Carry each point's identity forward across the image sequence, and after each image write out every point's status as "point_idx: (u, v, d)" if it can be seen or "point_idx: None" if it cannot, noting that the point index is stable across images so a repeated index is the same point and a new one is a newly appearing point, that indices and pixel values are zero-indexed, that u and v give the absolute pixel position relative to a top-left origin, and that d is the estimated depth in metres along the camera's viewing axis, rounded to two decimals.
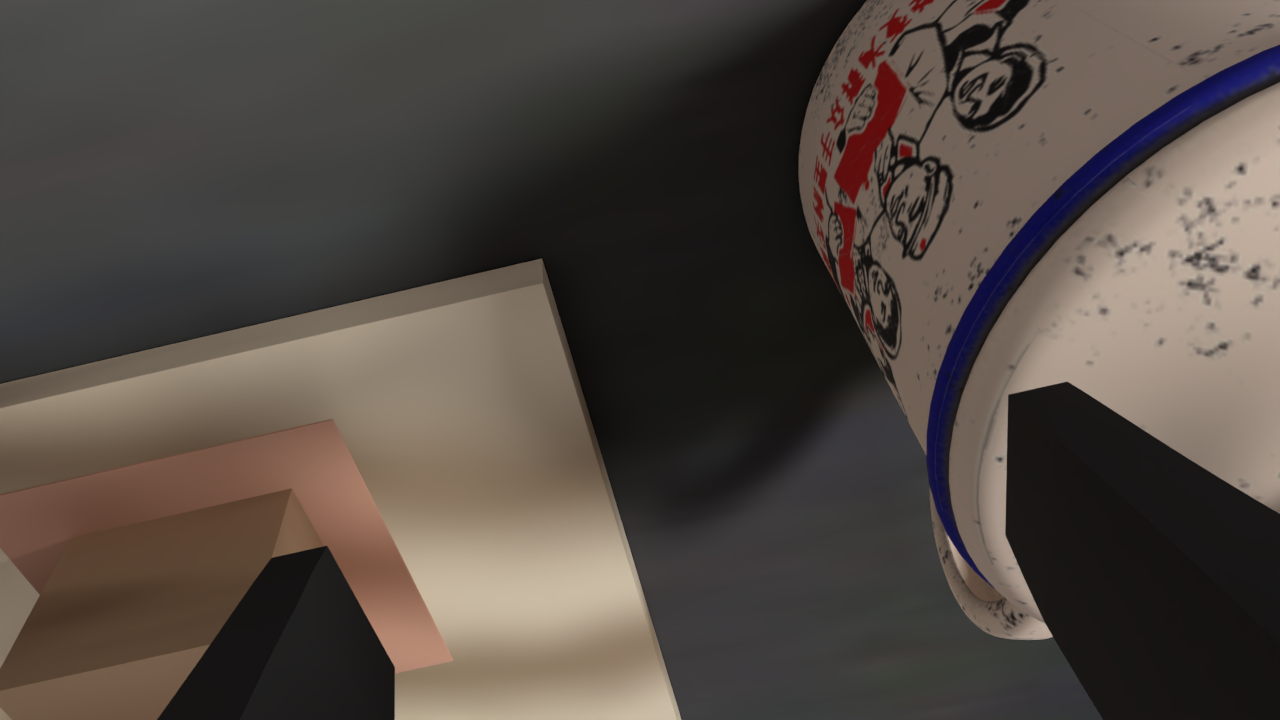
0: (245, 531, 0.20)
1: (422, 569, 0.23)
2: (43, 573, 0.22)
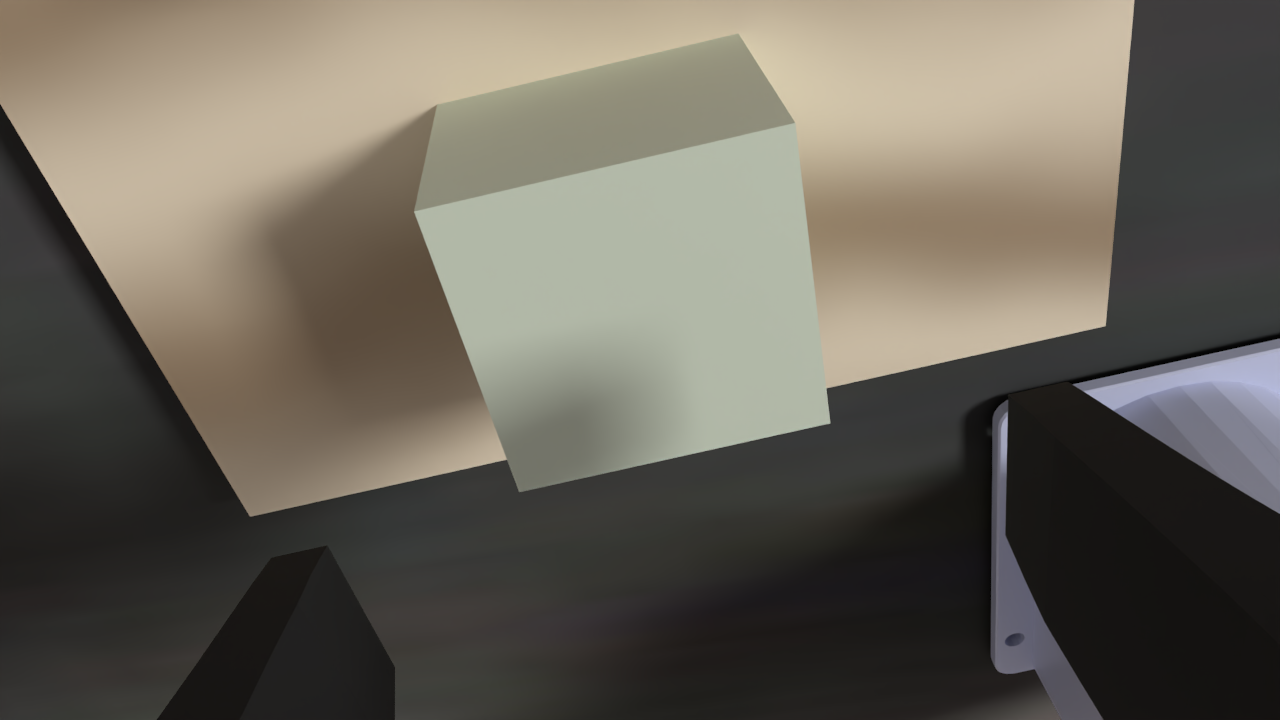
0: None
1: None
2: None
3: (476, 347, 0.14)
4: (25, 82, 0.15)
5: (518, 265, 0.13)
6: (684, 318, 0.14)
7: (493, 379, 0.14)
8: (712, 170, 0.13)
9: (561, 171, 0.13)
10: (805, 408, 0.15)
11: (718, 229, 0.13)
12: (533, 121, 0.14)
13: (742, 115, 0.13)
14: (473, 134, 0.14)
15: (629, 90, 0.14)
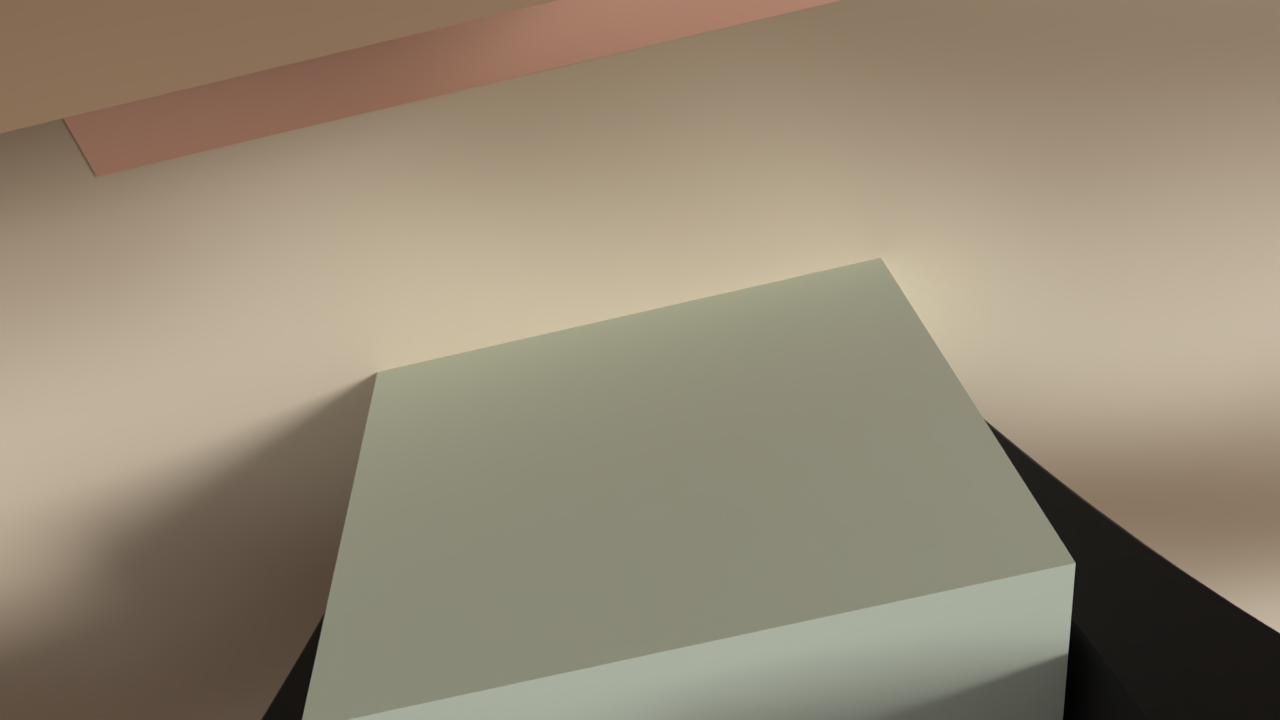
0: None
1: None
2: None
3: None
4: None
5: None
6: None
7: None
8: (899, 640, 0.06)
9: (596, 645, 0.06)
10: None
11: None
12: (538, 454, 0.08)
13: (950, 512, 0.07)
14: (431, 473, 0.08)
15: (708, 389, 0.08)
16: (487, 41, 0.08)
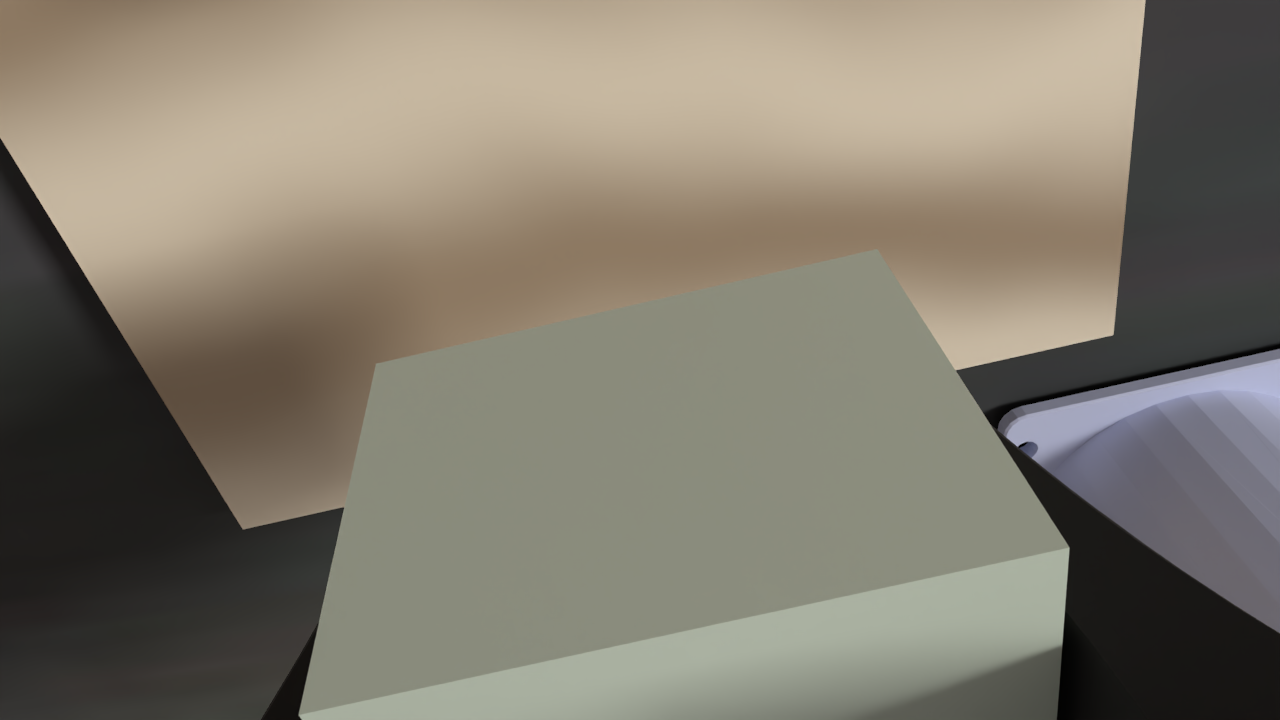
0: None
1: None
2: None
3: None
4: (9, 89, 0.15)
5: None
6: None
7: None
8: (894, 627, 0.06)
9: (593, 631, 0.06)
10: None
11: (893, 706, 0.07)
12: (536, 443, 0.08)
13: (947, 498, 0.07)
14: (430, 463, 0.08)
15: (705, 379, 0.08)
16: None
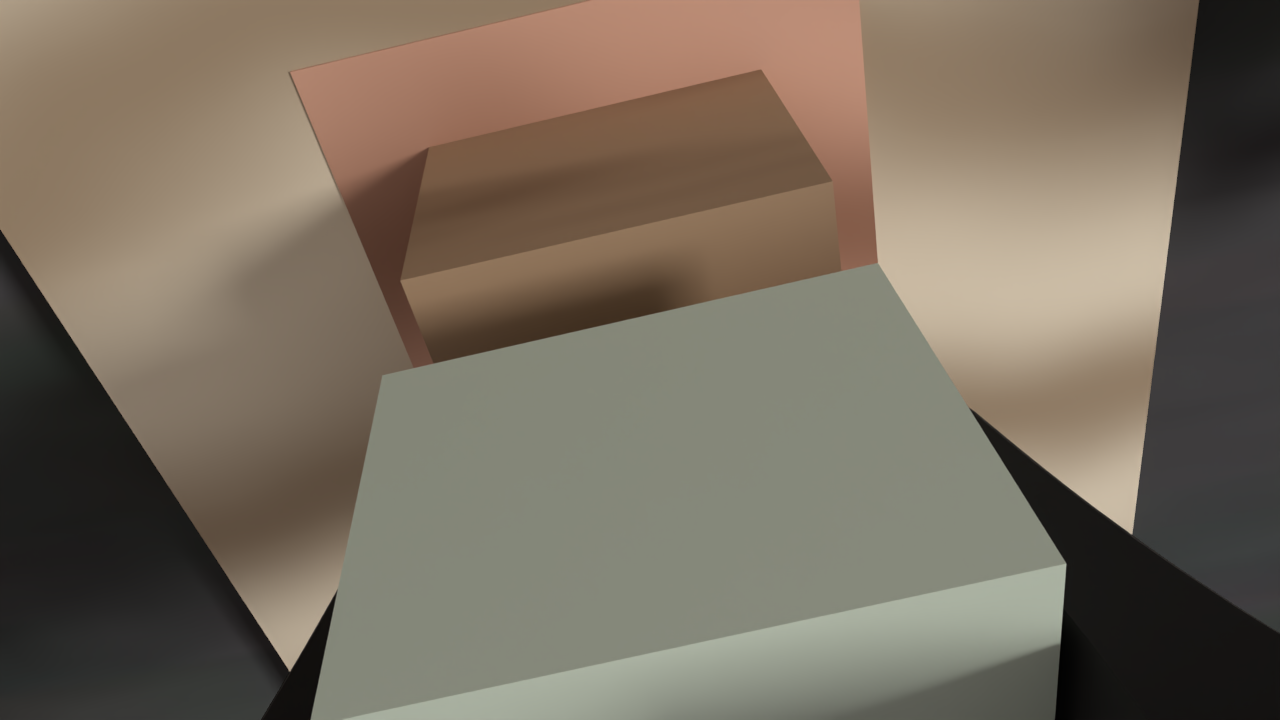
0: (721, 107, 0.13)
1: (894, 232, 0.16)
2: (377, 211, 0.15)
3: None
4: (250, 563, 0.19)
5: None
6: None
7: None
8: (894, 640, 0.06)
9: (599, 644, 0.06)
10: None
11: (892, 719, 0.07)
12: (541, 455, 0.08)
13: (945, 514, 0.07)
14: (436, 476, 0.08)
15: (708, 393, 0.08)
16: None
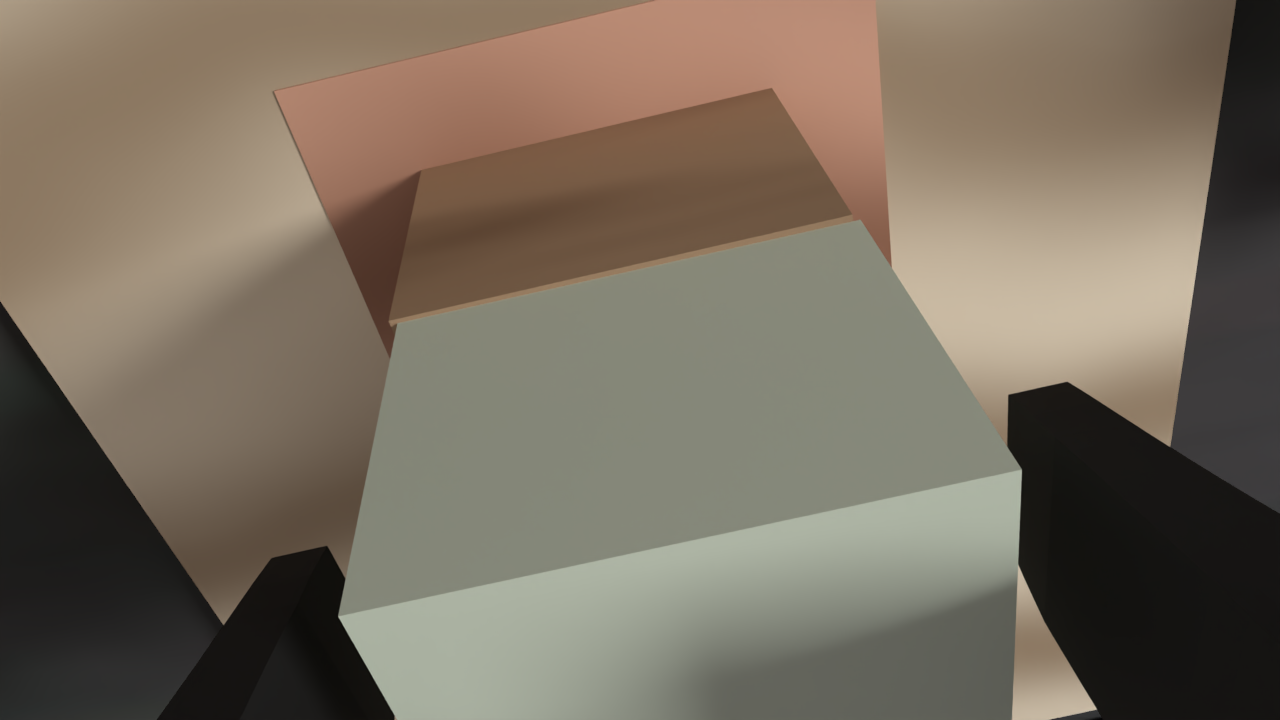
0: (730, 129, 0.13)
1: (910, 256, 0.15)
2: (367, 236, 0.14)
3: None
4: (236, 597, 0.18)
5: (522, 679, 0.08)
6: None
7: None
8: (868, 541, 0.07)
9: (600, 543, 0.07)
10: None
11: (867, 618, 0.08)
12: (547, 389, 0.09)
13: (915, 430, 0.07)
14: (450, 408, 0.09)
15: (701, 333, 0.09)
16: None
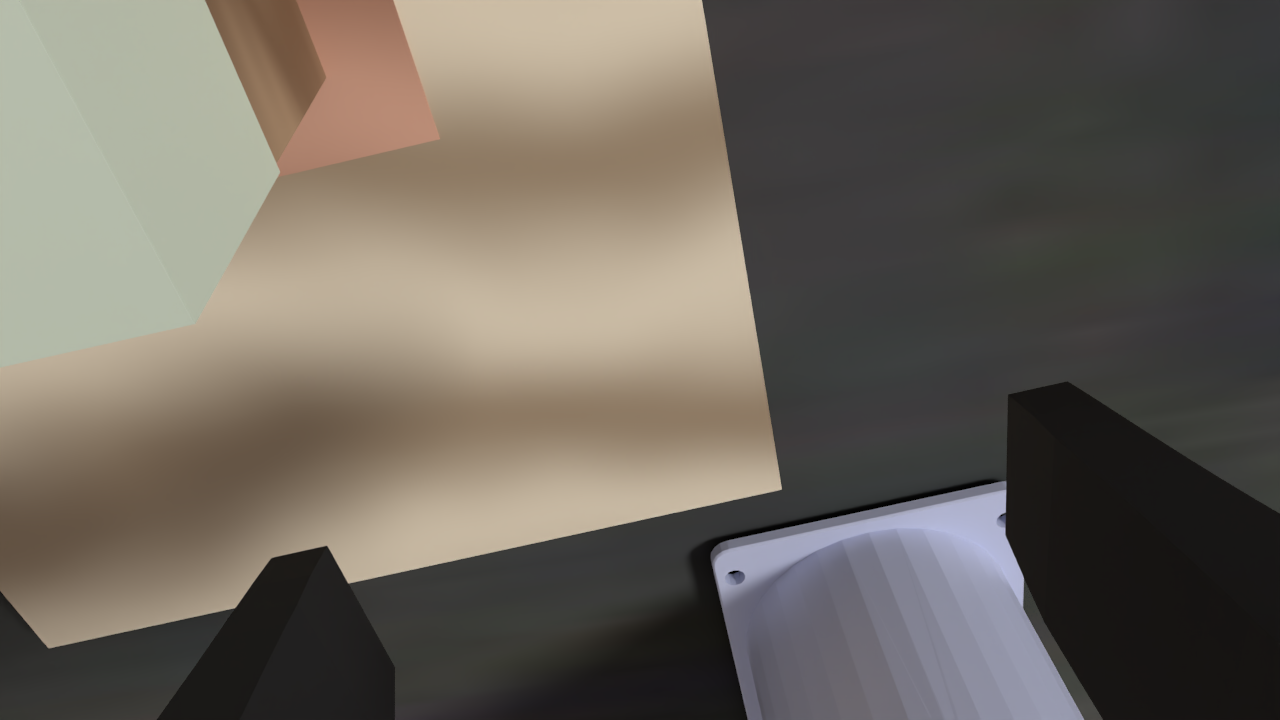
0: None
1: None
2: None
3: None
4: None
5: None
6: None
7: None
8: None
9: None
10: (143, 298, 0.10)
11: None
12: None
13: None
14: None
15: None
16: None
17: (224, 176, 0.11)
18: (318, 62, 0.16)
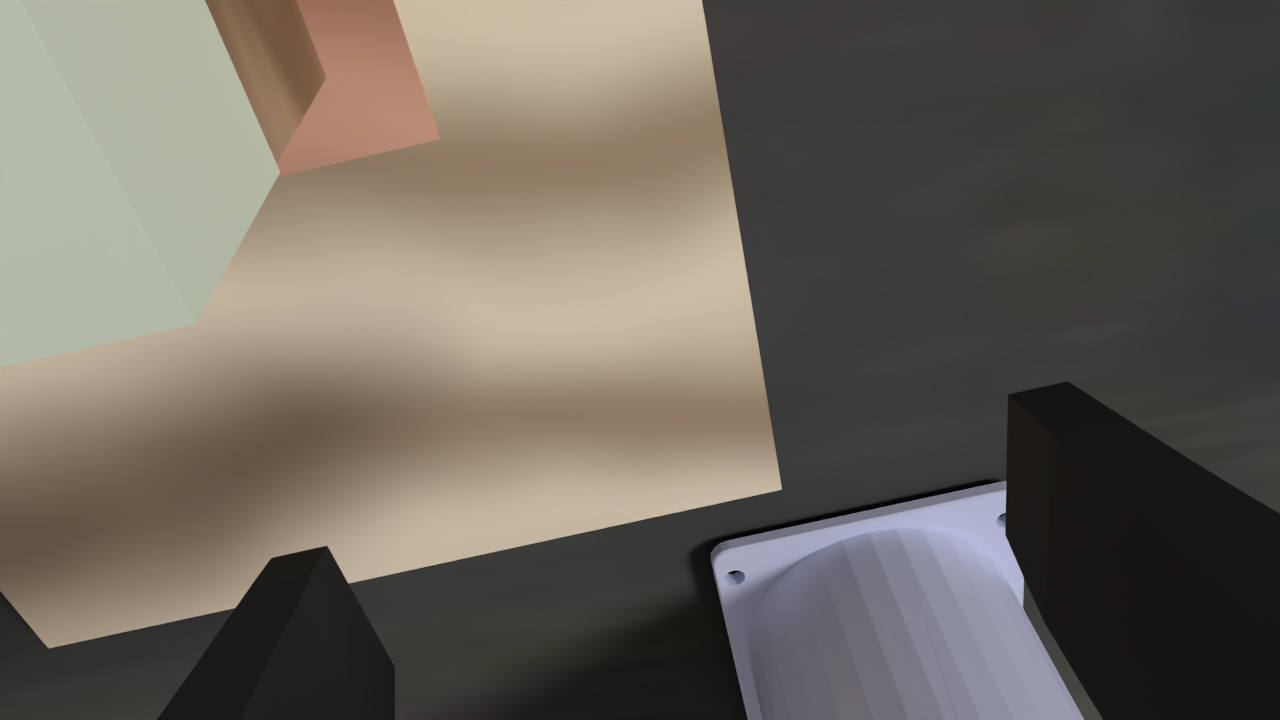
0: None
1: None
2: None
3: None
4: None
5: None
6: None
7: None
8: None
9: None
10: (143, 298, 0.10)
11: None
12: None
13: None
14: None
15: None
16: None
17: (224, 176, 0.11)
18: (318, 62, 0.16)
